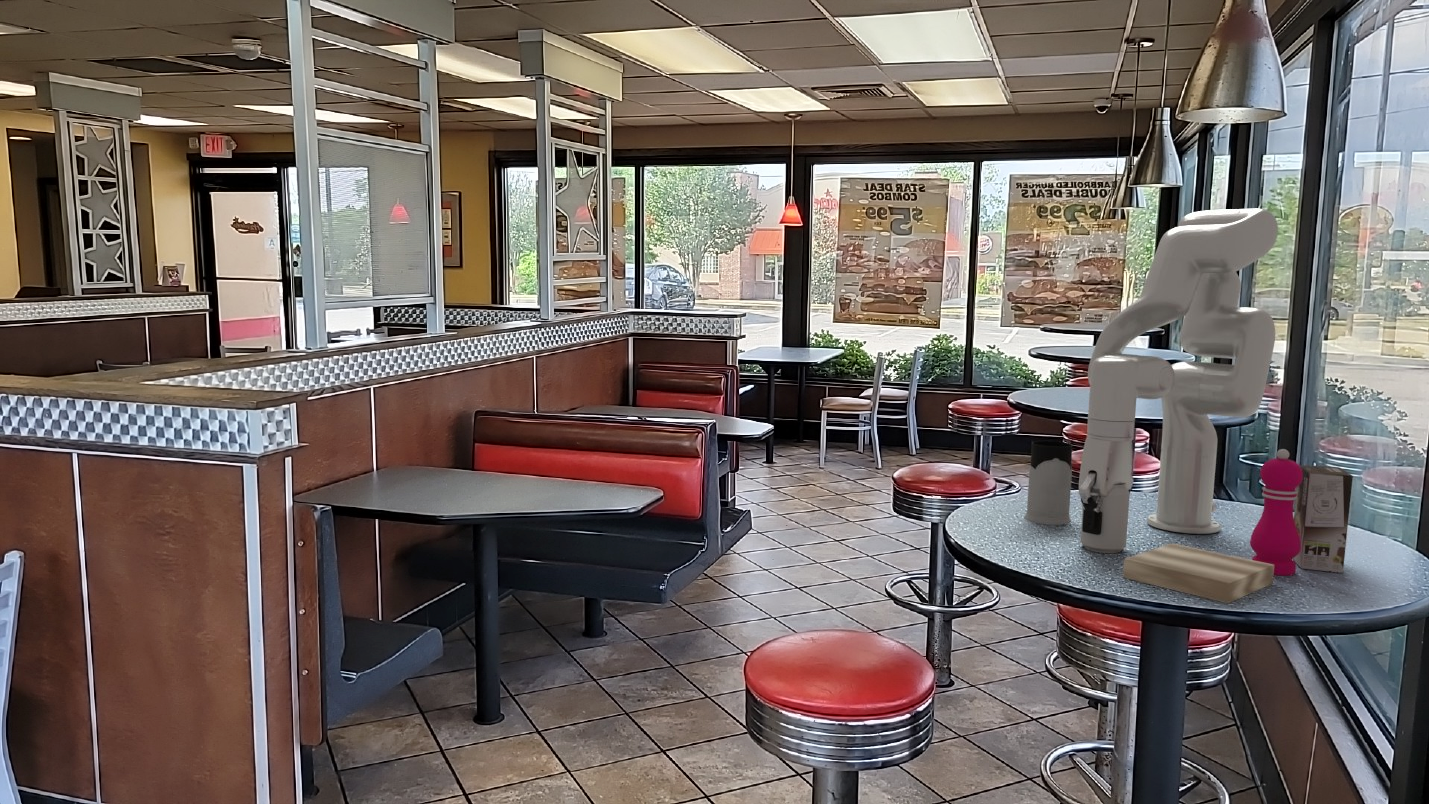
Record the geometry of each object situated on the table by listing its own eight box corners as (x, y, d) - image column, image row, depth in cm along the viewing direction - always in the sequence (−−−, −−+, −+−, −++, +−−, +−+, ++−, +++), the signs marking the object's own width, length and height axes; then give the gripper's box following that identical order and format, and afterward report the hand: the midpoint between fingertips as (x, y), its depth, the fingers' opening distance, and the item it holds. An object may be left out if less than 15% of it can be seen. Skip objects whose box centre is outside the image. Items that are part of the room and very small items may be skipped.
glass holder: (1029, 523, 193) (1033, 446, 191) (1014, 507, 207) (1018, 435, 205) (1076, 525, 192) (1081, 448, 190) (1058, 509, 206) (1062, 436, 204)
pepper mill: (1239, 563, 168) (1249, 444, 165) (1283, 564, 167) (1294, 446, 165) (1261, 576, 160) (1272, 452, 158) (1307, 577, 160) (1319, 453, 158)
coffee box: (1345, 573, 163) (1354, 475, 161) (1299, 569, 165) (1308, 472, 163) (1332, 559, 171) (1341, 466, 169) (1289, 555, 173) (1297, 463, 171)
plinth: (1170, 560, 168) (1172, 543, 168) (1272, 583, 156) (1274, 564, 156) (1122, 577, 158) (1124, 558, 158) (1228, 603, 146) (1229, 583, 146)
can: (1129, 555, 171) (1134, 486, 170) (1083, 552, 173) (1087, 483, 171) (1121, 544, 178) (1125, 478, 177) (1076, 541, 180) (1081, 475, 178)
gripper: (1115, 423, 181) (1109, 519, 184) (1063, 430, 170) (1057, 532, 172) (1156, 428, 176) (1149, 527, 178) (1105, 436, 165) (1098, 542, 167)
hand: (1103, 529), depth 175 cm, fingers closed on can, 7 cm apart
